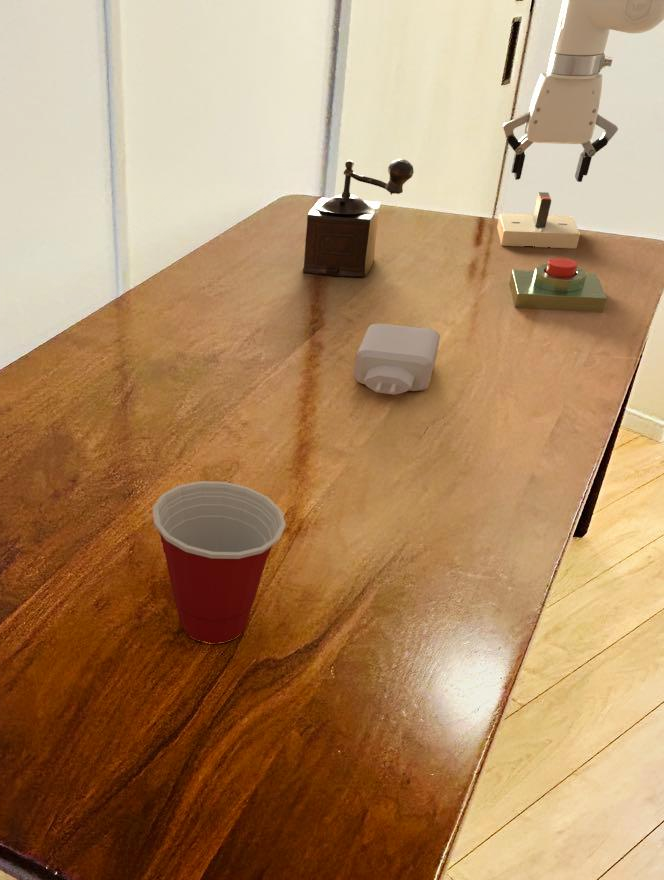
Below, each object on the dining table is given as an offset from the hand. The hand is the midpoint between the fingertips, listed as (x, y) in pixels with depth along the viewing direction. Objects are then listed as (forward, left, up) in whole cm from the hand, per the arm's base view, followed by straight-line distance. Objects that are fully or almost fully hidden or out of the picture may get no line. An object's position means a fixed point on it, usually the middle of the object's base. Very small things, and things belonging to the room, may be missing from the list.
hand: (547, 178), depth 152 cm
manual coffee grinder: (+30, +19, -10) cm, 37 cm away
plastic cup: (+37, +111, -10) cm, 117 cm away
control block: (0, +28, -10) cm, 30 cm away
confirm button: (0, +28, -6) cm, 29 cm away
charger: (+23, +61, -10) cm, 66 cm away
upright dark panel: (0, 0, -7) cm, 7 cm away
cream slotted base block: (0, 0, -10) cm, 10 cm away
